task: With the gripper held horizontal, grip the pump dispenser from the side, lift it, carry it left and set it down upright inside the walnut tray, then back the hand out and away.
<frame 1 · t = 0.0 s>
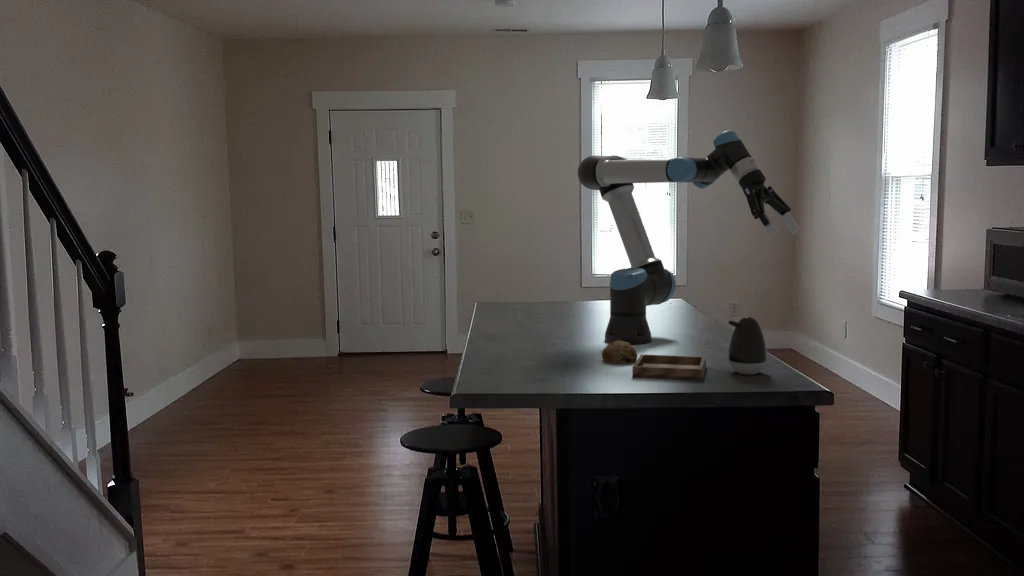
hand: (785, 233, 262), 36 cm above the countertop, tool tilted 35°, fingers open, 13 cm apart
bread roll: (618, 362, 256), on the countertop
walnut tray: (670, 372, 239), on the countertop
pump dispenser: (746, 373, 238), on the countertop
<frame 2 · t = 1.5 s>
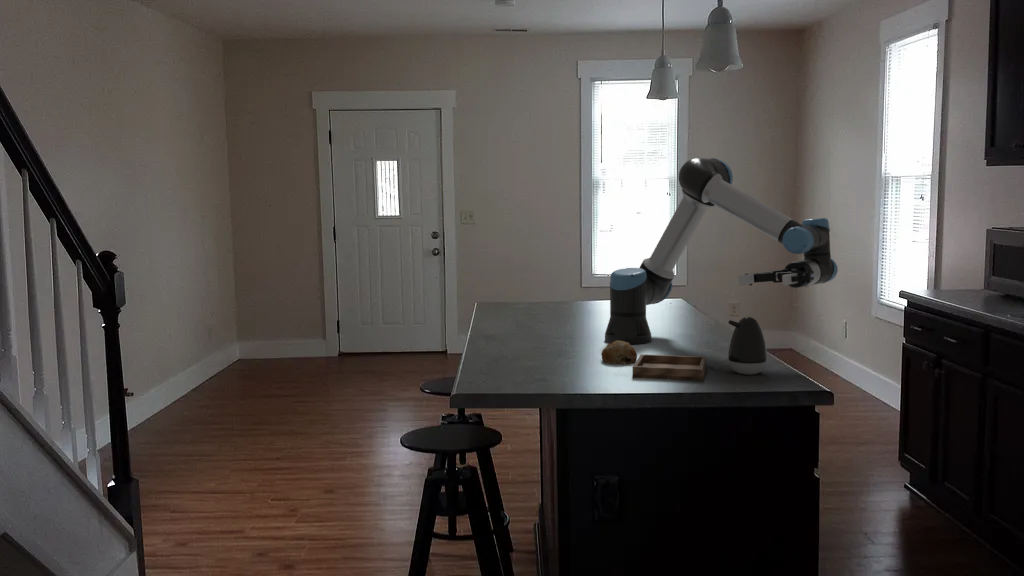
hand: (761, 280, 242), 24 cm above the countertop, tool horizontal, fingers open, 13 cm apart
nothing on the countertop moved.
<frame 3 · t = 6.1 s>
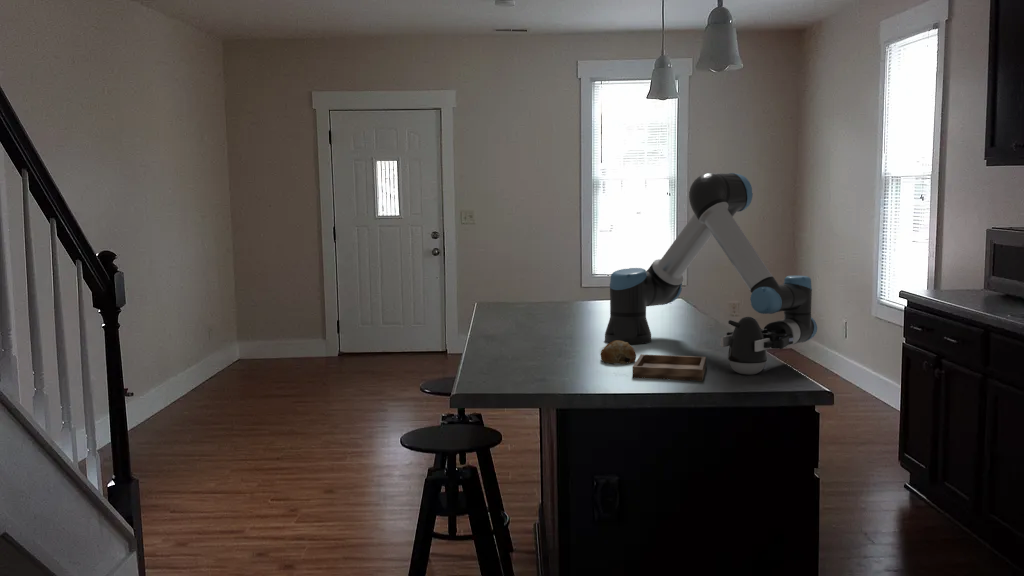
hand: (738, 344, 234), 8 cm above the countertop, tool horizontal, fingers closed on pump dispenser, 9 cm apart
pump dispenser: (746, 373, 238), on the countertop, touching gripper
everything else where it was.
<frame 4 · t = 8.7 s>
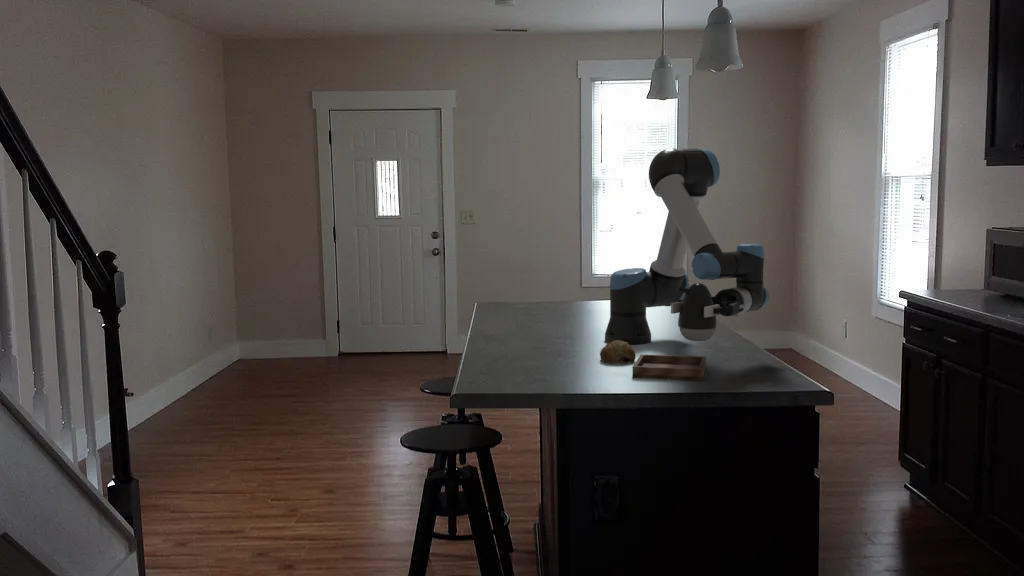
hand: (688, 310, 232), 18 cm above the countertop, tool horizontal, fingers closed on pump dispenser, 9 cm apart
pump dispenser: (696, 340, 236), point 9 cm above the countertop, touching gripper
everything else where it was.
when the fingers open (11 cm above the countertop, at t = 11.3 s): pump dispenser drops 2 cm, resting on walnut tray.
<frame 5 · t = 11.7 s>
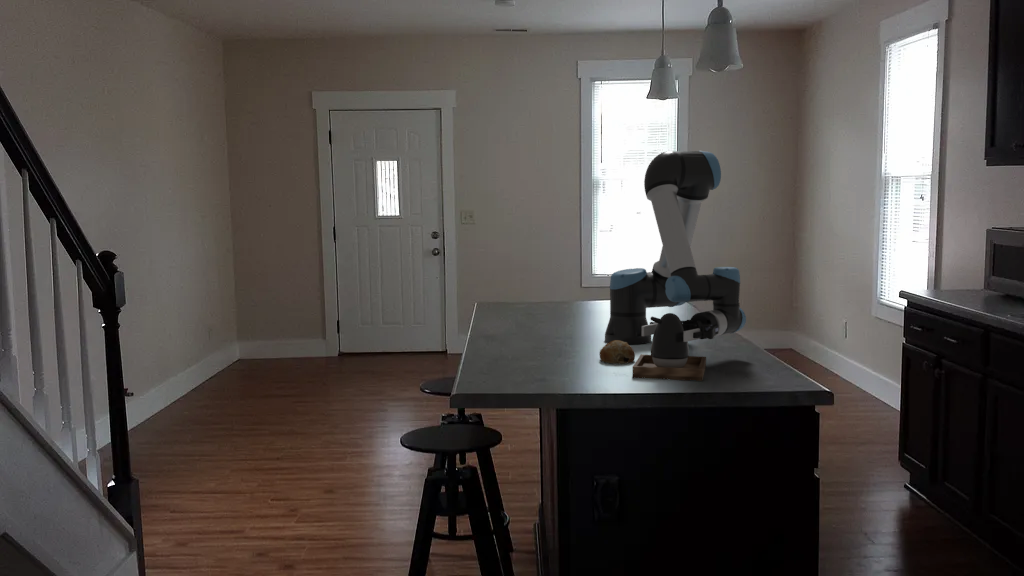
hand: (663, 333, 235), 11 cm above the countertop, tool horizontal, fingers open, 13 cm apart
pump dispenser: (669, 369, 239), point 1 cm above the countertop, touching walnut tray
everything else where it was.
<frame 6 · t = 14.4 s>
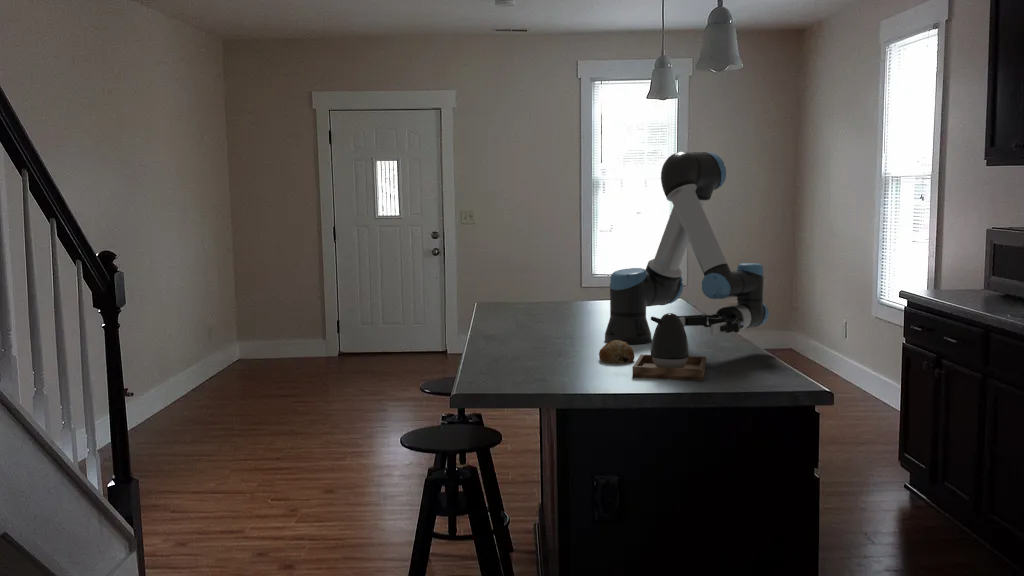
hand: (690, 327, 245), 11 cm above the countertop, tool horizontal, fingers open, 13 cm apart
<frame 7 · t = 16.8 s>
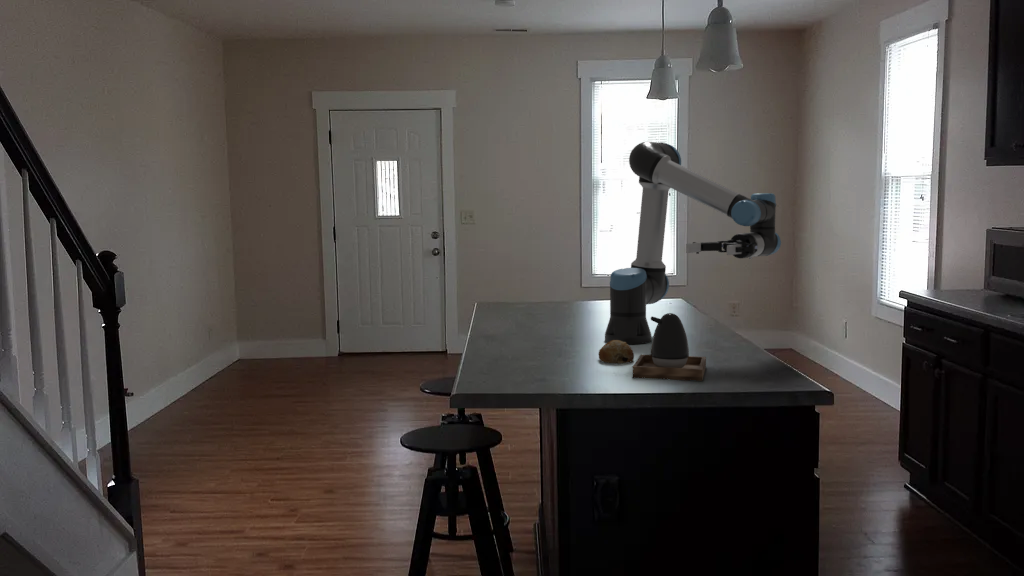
hand: (707, 249, 254), 32 cm above the countertop, tool horizontal, fingers open, 13 cm apart
at the end: pump dispenser inside the target area on the walnut tray (0.2 cm from its centre), point 0.8 cm above the walnut tray's base; pump dispenser tilted 0°; the gripper is holding nothing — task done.
